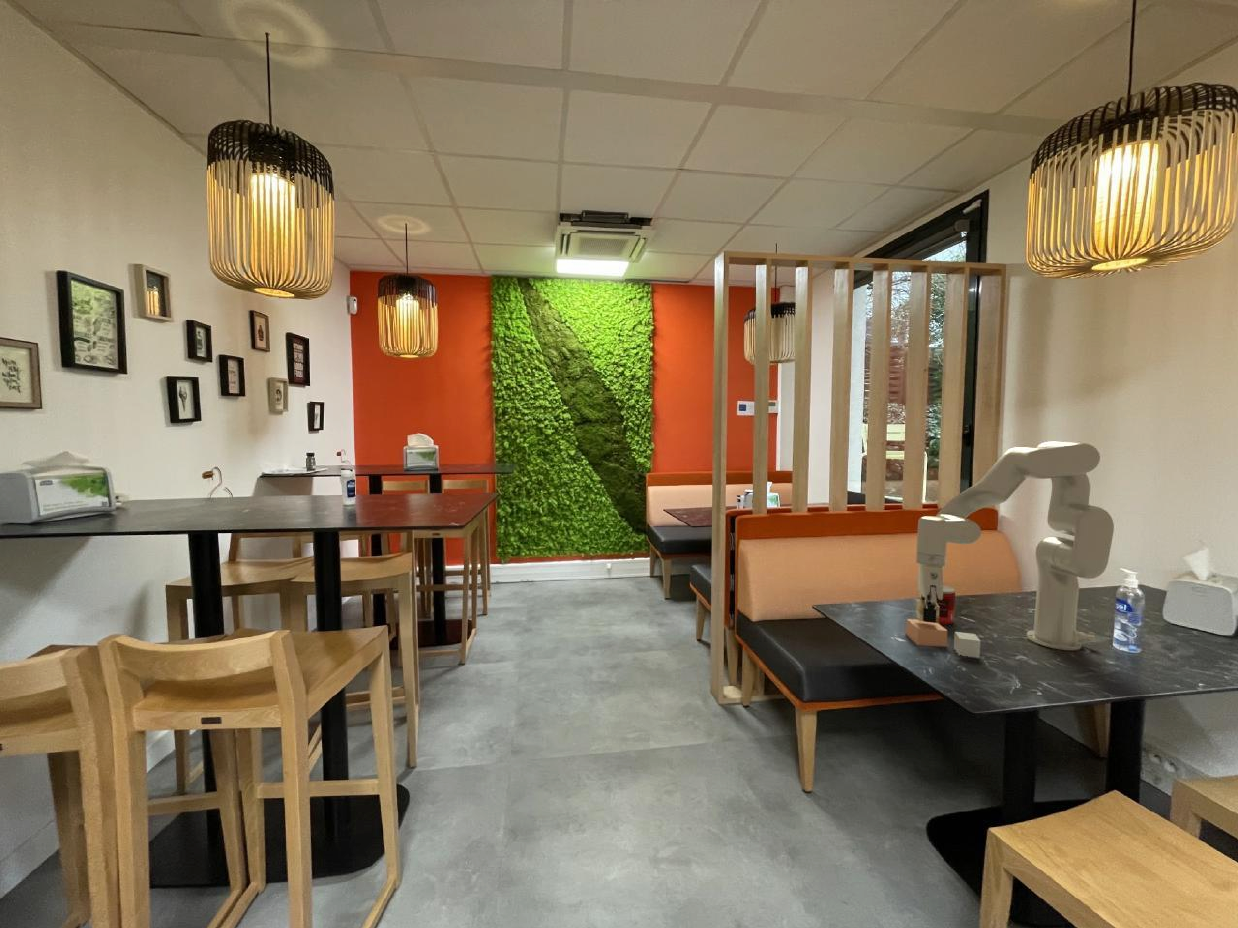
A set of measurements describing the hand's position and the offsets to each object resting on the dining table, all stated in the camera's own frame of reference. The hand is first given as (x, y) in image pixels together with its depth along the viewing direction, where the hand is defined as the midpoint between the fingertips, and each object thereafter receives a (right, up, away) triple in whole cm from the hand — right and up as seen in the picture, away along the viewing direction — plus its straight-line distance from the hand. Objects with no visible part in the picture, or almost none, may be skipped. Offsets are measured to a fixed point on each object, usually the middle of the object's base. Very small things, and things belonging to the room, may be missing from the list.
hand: (927, 617), depth 158 cm
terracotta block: (0, -7, +1) cm, 7 cm away
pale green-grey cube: (+6, -8, -8) cm, 13 cm away
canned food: (+14, -6, +17) cm, 23 cm away
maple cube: (0, 0, 0) cm, 0 cm away
